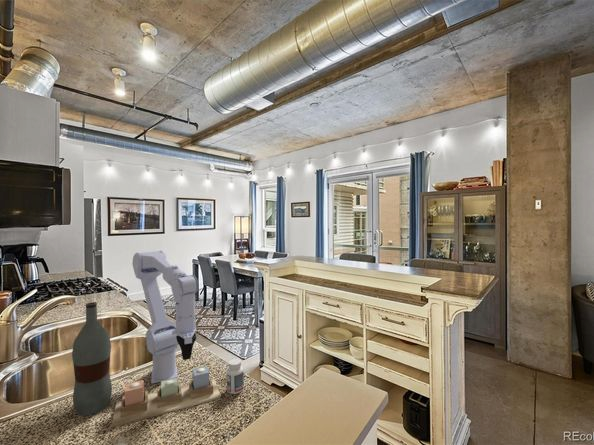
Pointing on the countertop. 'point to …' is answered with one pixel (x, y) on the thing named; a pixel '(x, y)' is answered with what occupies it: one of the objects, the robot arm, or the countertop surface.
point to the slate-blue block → (200, 377)
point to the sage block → (169, 387)
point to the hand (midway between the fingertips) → (186, 358)
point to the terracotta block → (134, 393)
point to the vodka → (91, 366)
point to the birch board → (164, 402)
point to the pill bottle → (235, 377)
